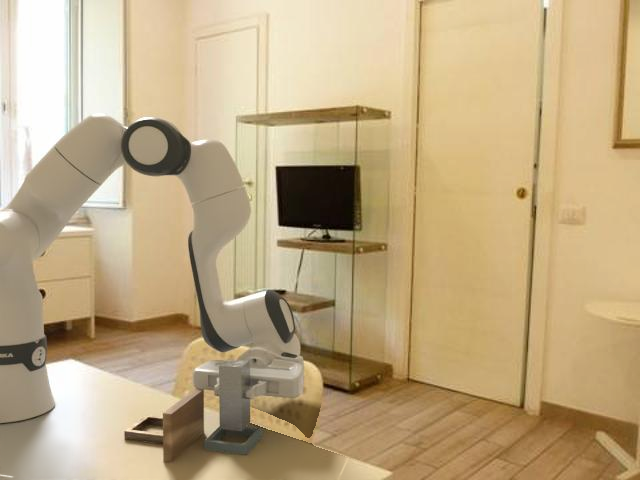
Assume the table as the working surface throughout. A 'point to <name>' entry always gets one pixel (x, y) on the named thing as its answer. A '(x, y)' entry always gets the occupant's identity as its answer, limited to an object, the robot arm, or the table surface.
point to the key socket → (138, 435)
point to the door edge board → (183, 424)
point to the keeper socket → (231, 447)
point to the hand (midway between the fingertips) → (232, 393)
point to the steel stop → (234, 394)
